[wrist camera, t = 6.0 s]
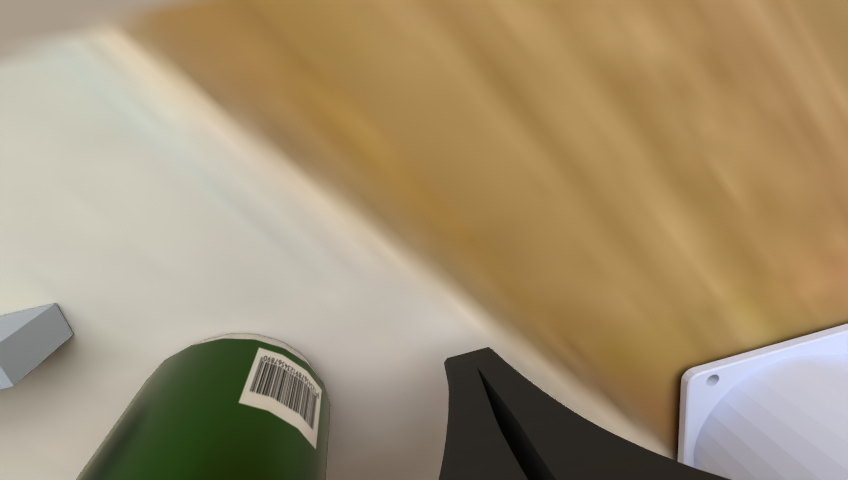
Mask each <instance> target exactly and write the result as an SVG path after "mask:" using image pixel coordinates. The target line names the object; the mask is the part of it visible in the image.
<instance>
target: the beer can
mask: <svg viewBox="0 0 848 480" xmlns="http://www.w3.org/2000/svg"><path fill="white" fill-rule="evenodd" d="M329 419H330V402H329V399H328V396H327V393H326V390H325V386H324V383H323V382H322V380H321V379H320V377H319V376H318V375H317V373H316V372H315V370H314V369H313V368H312V367H311V365H310V364H309V363H308V362H307V360H306V359H305V358H304V356H303V355H302V354H300V353H299V352H297V351H295V350H294V349H292V348H291V347H289V346H288V345H286V344H285V343H283V342H281V341H278V340H274V339H271V338H268V337H264V336H261V335H255V334H228V335H224V336H219V337H215V338H211V339H206V340H204V341H201V342H199V343H196V344H194V345H191V346H189V347H188V348H186V349H184V350H182V351H180V352H179V353H177V354H175V355H173V356H171V357H170V358H168V359H166V360H165V361H164V362H163V363H162V364H161V365H160V366H159V367H158V368H157V369H156V370H155V372H154V373H153V374H152V375H151V376H150V377H149V378H148V379H147V380H146V382H145V383H144V385H143V386H142V387H141V389H140V390H139V392H138V393H137V394H136V396H135V397H134V399H133V400H132V401H131V403H130V404H129V406H128V407H127V408H126V410H125V411H124V413H123V414H122V415H121V417H120V418H119V420H118V421H117V422H116V424H115V425H114V427H113V428H112V430H111V431H110V432H109V434H108V435H107V437H106V438H105V439H104V441H103V442H102V444H101V445H100V446H99V448H98V449H97V451H96V452H95V453H94V455H93V456H92V458H91V459H90V460H89V462H88V463H87V465H86V466H85V467H84V469H83V470H82V472H81V473H80V474H79V476H78V477H77V479H76V480H326V467H327V451H328V435H329Z"/></svg>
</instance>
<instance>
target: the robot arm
mask: <svg viewBox="0 0 848 480" xmlns="http://www.w3.org/2000/svg"><path fill="white" fill-rule="evenodd" d="M444 365H445V370H446V375H447V380H448V385H449V412H448V424H447V434H446V443H445V450H444V456H443V461H442V467H441V472H440V476H439V480H848V324H844V325H841V326H837V327H834V328H830V329H827V330H823V331H820V332H816V333H812V334H809V335H805V336H802V337H798V338H795V339H791V340H788V341H784V342H781V343H777V344H774V345H770V346H767V347H763V348H760V349H756V350H753V351H749V352H746V353H742V354H739V355H735V356H732V357H728V358H725V359H721V360H718V361H714V362H711V363H707V364H703V365H700V366H696V367H693V368H691V369H688V370H687V371H686V372H685V373H684V375H683V376H682V379H681V395H680V419H679V443H678V462H677V461H675V460H672V459H670V458H667V457H664V456H662V455H659V454H657V453H654V452H652V451H650V450H647V449H645V448H643V447H641V446H638V445H636V444H634V443H632V442H630V441H628V440H625V439H623V438H621V437H619V436H617V435H614V434H613V433H611V432H609V431H607V430H605V429H603V428H601V427H599V426H597V425H595V424H594V423H592V422H590V421H588V420H587V419H585V418H583V417H581V416H580V415H578V414H576V413H575V412H573V411H572V410H570V409H568V408H567V407H565V406H564V405H562V404H561V403H559V402H558V401H556V400H555V399H553V398H552V397H550V396H549V395H548V394H546V393H545V392H543V391H542V390H541V389H539V388H538V387H537V386H535V385H534V384H533V383H531V382H530V381H529V380H527V379H526V378H525V377H524V376H522V375H521V374H520V373H519V372H517V371H516V370H515V369H514V368H513V367H511V366H510V365H509V364H508V363H507V362H505V361H504V360H503V359H502V358H501V357H500V356H499V355H498V354H496V353H495V352H494V351H493V350H492V349H490V348H489V347H487V348H484V349H480V350H476V351H472V352H469V353H465V354H461V355H458V356H454V357H450V358H447V359H446V361H445V362H444Z"/></svg>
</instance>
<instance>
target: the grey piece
mask: <svg viewBox="0 0 848 480" xmlns="http://www.w3.org/2000/svg"><path fill="white" fill-rule="evenodd" d="M72 335H73V333H72V331H71V329H70V327H69V326H68V324H67V322H66V320H65V319H64V317H63V315H62V313H61V312H60V310H59V308H58V306H57V305H56V303H54V304H49V305H45V306H41V307H37V308H32V309H28V310H24V311H19V312H15V313H11V314H6V315H2V316H0V389H4V388H8V387H12V386H14V385H16V384H17V383H18V382H19V381H20V380H21V379H23V378H24V377H25V376H26V375H27V374H28V373H29V372H31V371H32V370H33V369H34V368H35V367H36V366H38V365H39V364H40V363H41V362H42V361H43V360H44V359H46V358H47V357H48V356H49V355H50V354H51V353H53V352H54V351H55V350H56V349H57V348H58V347H60V346H61V345H62V344H63V343H64V342H65V341H66V340H68V339H69V338H70V337H71V336H72Z"/></svg>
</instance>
